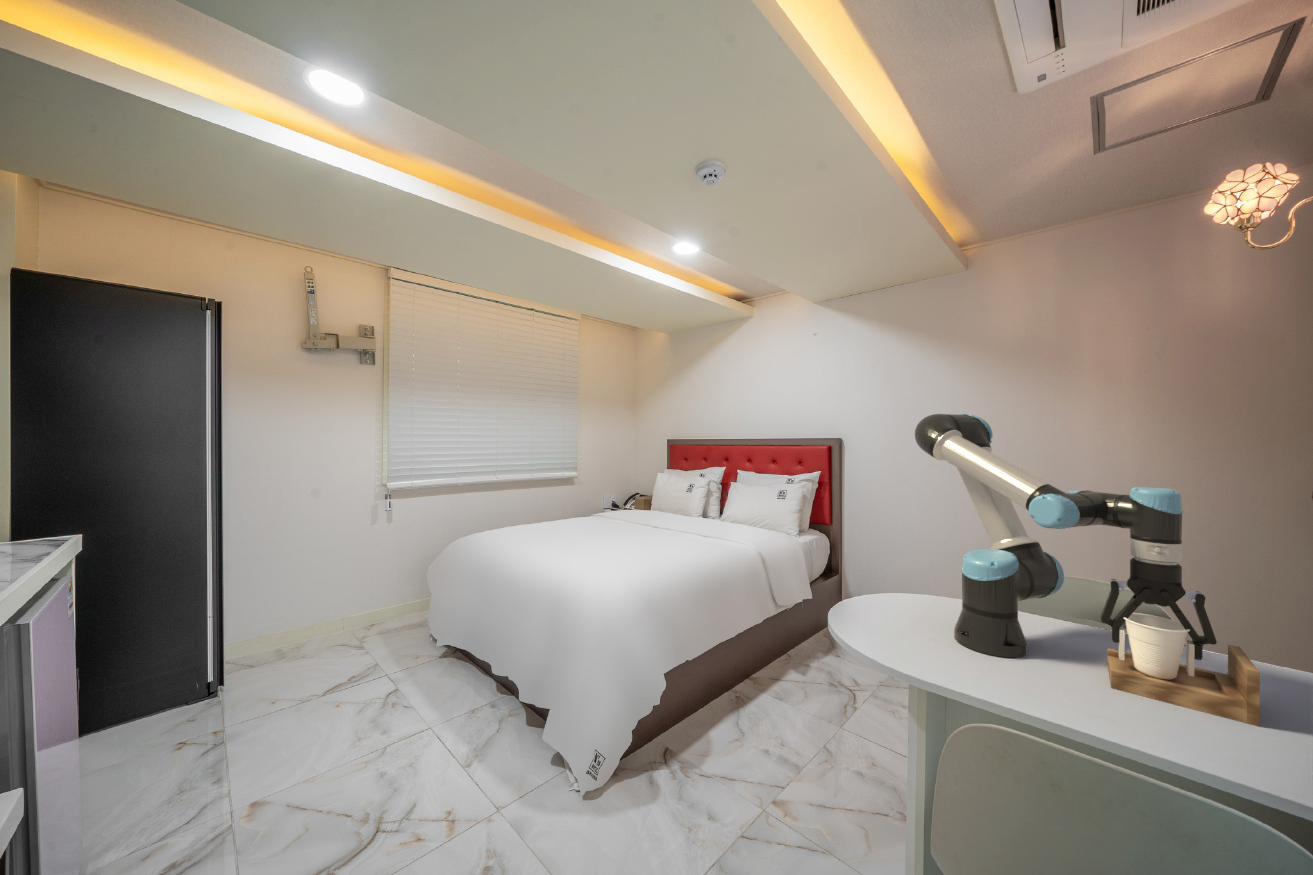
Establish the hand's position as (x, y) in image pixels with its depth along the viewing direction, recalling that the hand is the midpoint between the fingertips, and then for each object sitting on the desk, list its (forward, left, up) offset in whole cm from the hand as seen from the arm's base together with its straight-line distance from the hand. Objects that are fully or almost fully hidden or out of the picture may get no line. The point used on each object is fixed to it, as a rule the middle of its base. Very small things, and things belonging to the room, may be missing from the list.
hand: (1154, 665), depth 99 cm
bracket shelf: (+2, 0, -5) cm, 5 cm away
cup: (0, 0, -2) cm, 2 cm away
